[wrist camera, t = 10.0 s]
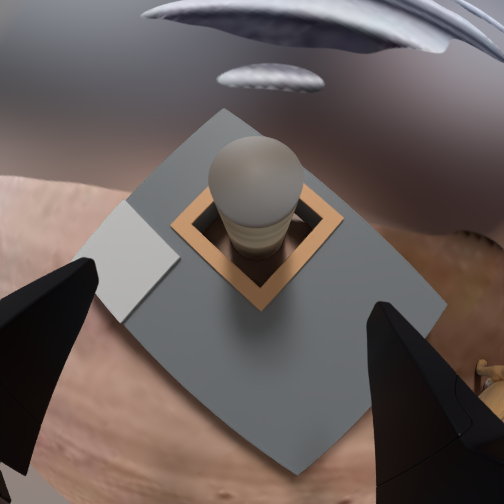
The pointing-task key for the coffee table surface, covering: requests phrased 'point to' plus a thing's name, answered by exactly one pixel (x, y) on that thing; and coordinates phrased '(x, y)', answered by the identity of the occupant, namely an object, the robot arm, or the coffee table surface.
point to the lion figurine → (492, 387)
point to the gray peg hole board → (254, 303)
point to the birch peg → (256, 193)
